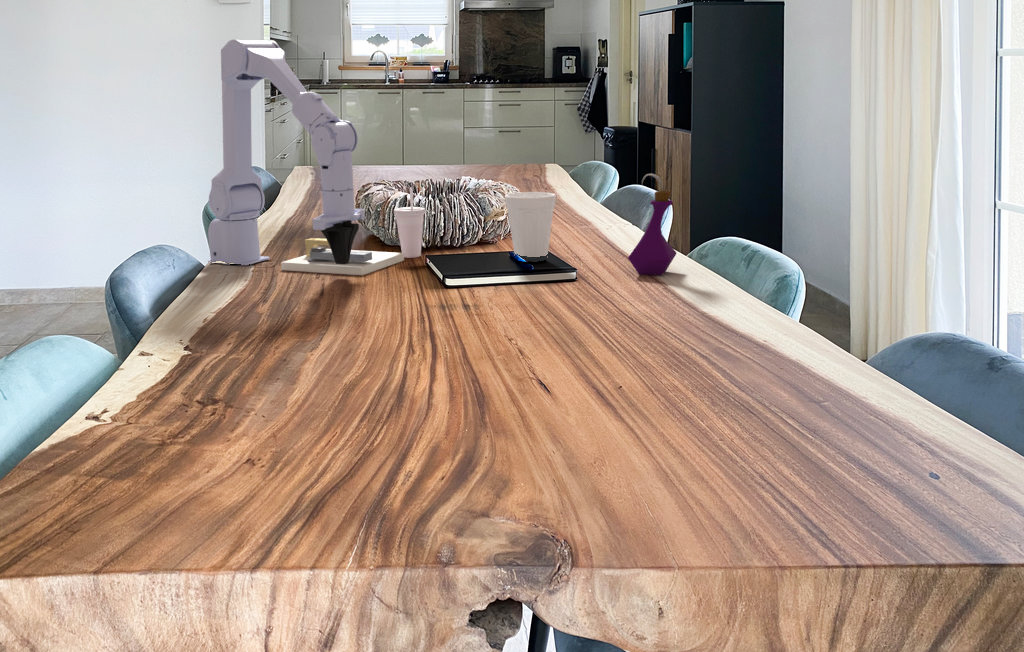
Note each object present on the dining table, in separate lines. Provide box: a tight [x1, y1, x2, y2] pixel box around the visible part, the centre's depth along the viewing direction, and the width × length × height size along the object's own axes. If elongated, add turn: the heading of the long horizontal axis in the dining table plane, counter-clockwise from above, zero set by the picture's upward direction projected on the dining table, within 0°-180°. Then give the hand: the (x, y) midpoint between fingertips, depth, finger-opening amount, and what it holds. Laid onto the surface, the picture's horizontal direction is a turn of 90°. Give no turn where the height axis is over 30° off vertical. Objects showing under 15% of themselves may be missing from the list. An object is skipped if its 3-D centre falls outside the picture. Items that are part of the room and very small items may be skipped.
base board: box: [280, 248, 405, 276], centre depth 198 cm, size 18×16×2 cm
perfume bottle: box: [627, 173, 677, 276], centre depth 182 cm, size 8×8×18 cm
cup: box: [504, 191, 557, 257], centre depth 196 cm, size 10×10×13 cm
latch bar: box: [310, 246, 372, 262], centre depth 193 cm, size 12×3×2 cm, turn 67°
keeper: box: [304, 237, 330, 256], centre depth 199 cm, size 6×2×3 cm, turn 67°
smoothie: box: [393, 186, 426, 259], centre depth 205 cm, size 6×6×14 cm
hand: (342, 263), depth 186 cm, fingers closed
